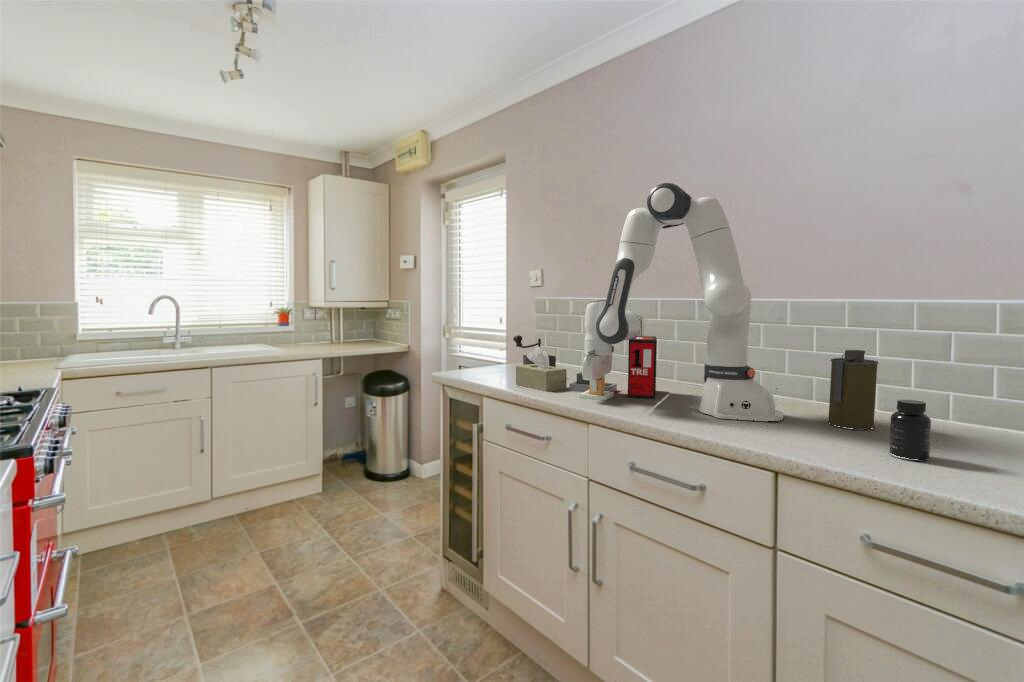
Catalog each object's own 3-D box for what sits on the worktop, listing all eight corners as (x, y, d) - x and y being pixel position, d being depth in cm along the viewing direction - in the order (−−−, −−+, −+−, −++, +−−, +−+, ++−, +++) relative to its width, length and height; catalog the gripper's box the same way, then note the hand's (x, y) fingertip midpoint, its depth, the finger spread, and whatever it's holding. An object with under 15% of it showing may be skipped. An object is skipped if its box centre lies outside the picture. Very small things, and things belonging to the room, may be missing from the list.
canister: (845, 419, 143) (849, 347, 141) (884, 428, 133) (888, 351, 131) (817, 422, 139) (821, 349, 137) (855, 432, 129) (859, 353, 127)
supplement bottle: (911, 451, 113) (914, 398, 112) (937, 461, 106) (942, 404, 105) (880, 452, 112) (884, 398, 111) (905, 462, 106) (909, 404, 105)
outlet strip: (616, 392, 184) (616, 383, 183) (609, 395, 177) (610, 387, 176) (577, 388, 191) (577, 380, 190) (569, 392, 184) (569, 383, 183)
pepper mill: (541, 374, 225) (541, 333, 224) (556, 377, 216) (556, 335, 214) (511, 377, 217) (511, 335, 216) (525, 381, 208) (525, 336, 206)
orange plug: (604, 396, 173) (604, 378, 172) (600, 398, 169) (601, 380, 169) (593, 395, 175) (593, 377, 174) (589, 397, 171) (589, 379, 171)
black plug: (590, 389, 186) (591, 373, 185) (587, 391, 182) (587, 374, 182) (580, 388, 188) (580, 372, 187) (576, 390, 184) (576, 373, 184)
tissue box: (515, 386, 197) (515, 345, 195) (534, 383, 202) (535, 343, 201) (546, 393, 181) (547, 349, 180) (567, 390, 187) (567, 347, 186)
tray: (613, 397, 174) (614, 392, 174) (605, 402, 166) (605, 396, 166) (588, 394, 178) (588, 389, 178) (579, 399, 170) (579, 394, 170)
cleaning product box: (629, 390, 187) (630, 335, 185) (654, 391, 184) (656, 336, 182) (627, 399, 171) (628, 339, 169) (655, 400, 168) (656, 340, 167)
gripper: (596, 352, 160) (596, 396, 161) (615, 346, 178) (615, 386, 179) (577, 351, 163) (577, 394, 164) (598, 345, 181) (597, 384, 182)
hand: (597, 389), depth 172 cm, fingers closed on orange plug, 4 cm apart
